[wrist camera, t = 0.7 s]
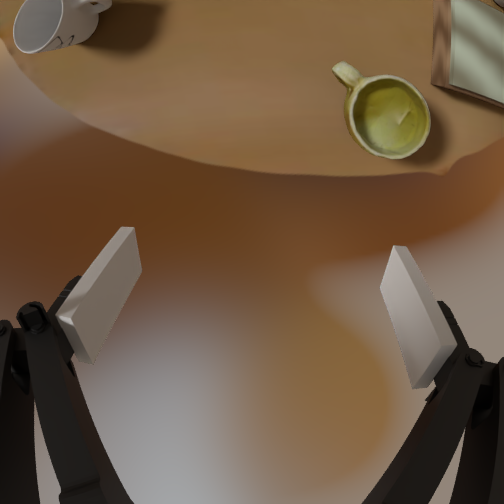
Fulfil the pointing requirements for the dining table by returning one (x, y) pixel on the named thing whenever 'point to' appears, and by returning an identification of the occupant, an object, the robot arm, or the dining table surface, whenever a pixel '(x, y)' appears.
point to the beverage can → (500, 2)
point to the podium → (469, 49)
